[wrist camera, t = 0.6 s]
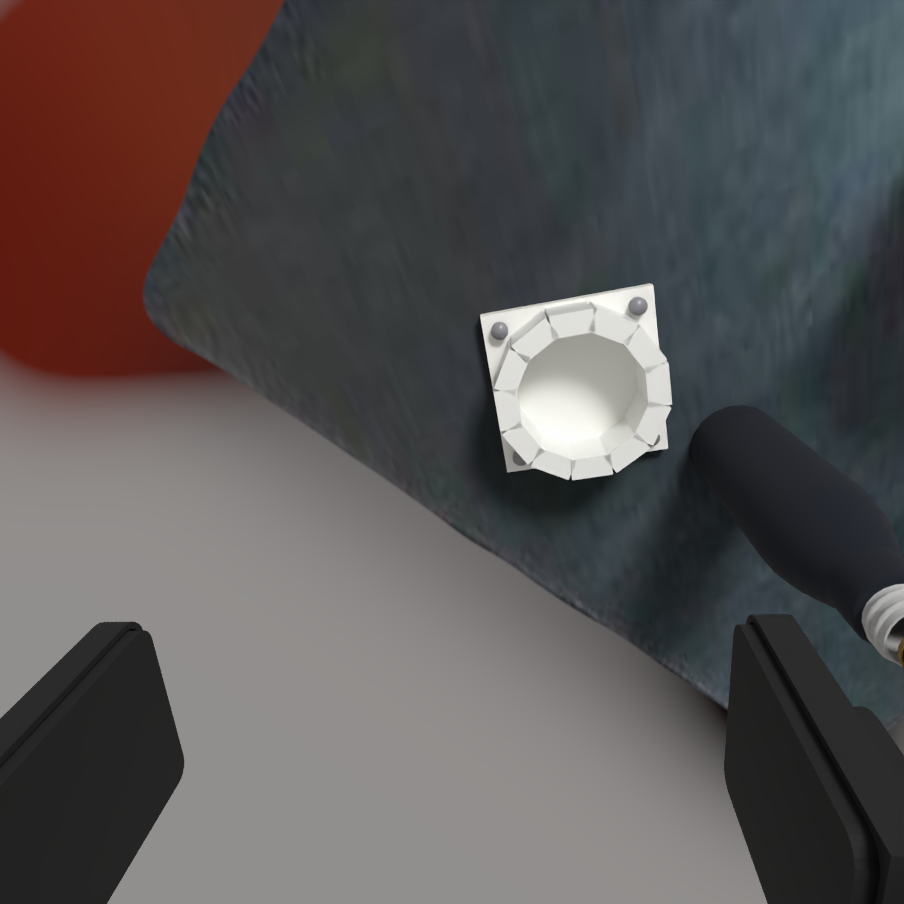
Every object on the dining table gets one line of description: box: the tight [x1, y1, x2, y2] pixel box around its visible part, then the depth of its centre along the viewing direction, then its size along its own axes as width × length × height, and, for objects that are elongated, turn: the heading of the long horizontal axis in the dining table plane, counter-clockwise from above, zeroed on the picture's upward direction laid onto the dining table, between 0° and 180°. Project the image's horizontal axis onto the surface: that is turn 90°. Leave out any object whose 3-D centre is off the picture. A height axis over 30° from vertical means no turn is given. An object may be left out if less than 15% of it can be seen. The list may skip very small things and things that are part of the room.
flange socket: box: [480, 284, 672, 480], centre depth 47 cm, size 12×12×5 cm
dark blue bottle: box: [691, 405, 904, 667], centre depth 36 cm, size 6×6×30 cm
